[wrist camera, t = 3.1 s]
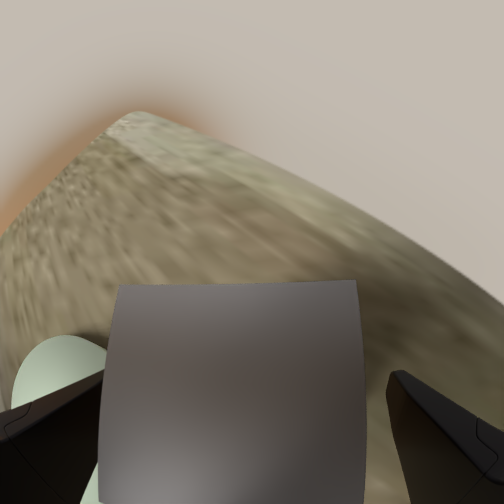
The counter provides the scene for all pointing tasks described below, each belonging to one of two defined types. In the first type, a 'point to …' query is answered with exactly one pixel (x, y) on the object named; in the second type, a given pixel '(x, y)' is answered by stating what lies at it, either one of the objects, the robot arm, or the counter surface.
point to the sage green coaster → (59, 378)
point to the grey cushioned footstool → (234, 395)
